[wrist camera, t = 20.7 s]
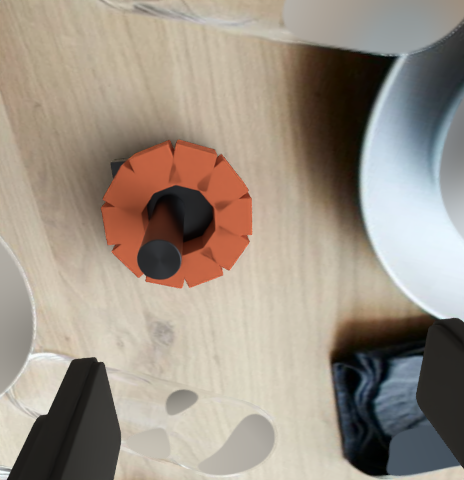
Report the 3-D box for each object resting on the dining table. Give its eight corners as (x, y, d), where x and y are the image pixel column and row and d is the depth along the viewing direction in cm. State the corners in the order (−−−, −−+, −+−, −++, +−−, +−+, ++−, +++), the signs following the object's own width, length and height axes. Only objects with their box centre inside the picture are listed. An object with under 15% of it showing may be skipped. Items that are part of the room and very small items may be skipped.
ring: (100, 143, 26) (89, 147, 24) (245, 136, 27) (250, 139, 25) (122, 277, 30) (115, 294, 28) (248, 267, 31) (253, 282, 29)
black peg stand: (114, 159, 28) (67, 194, 18) (214, 152, 29) (228, 181, 18) (130, 252, 31) (98, 330, 21) (221, 243, 32) (236, 315, 21)
